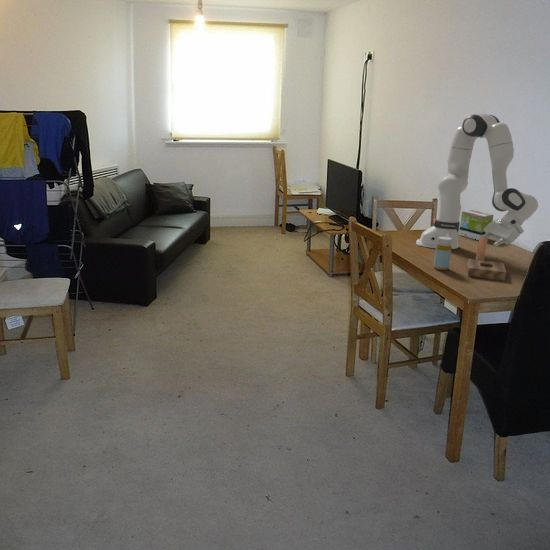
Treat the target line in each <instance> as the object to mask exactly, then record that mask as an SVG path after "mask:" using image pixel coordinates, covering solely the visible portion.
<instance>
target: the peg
mask: <svg viewBox="0 0 550 550" xmlns="http://www.w3.org/2000/svg"><path fill="white" fill-rule="evenodd" d="M488 241H489V239H488V238H485V237H479V241H478V242H477V243H478V244H477V250H476V255H475V260H484V261H485V258H486V252H487V247H488V246H487V245H488Z"/></svg>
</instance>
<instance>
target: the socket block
mask: <svg viewBox="0 0 550 550" xmlns="http://www.w3.org/2000/svg"><path fill="white" fill-rule="evenodd" d="M466 273H467V274H468V276H467V277H470V276H474V277H473V278H478V277H481V278H480V279H486V278H490V279H489V280H494V279H499V280H498V281H502V280H505V281H506V276H507V270H506V267H505V263H504V262H502V261H491V260H485V259H484V260H476V258H475V259H474V258H468V259H467V263H466Z"/></svg>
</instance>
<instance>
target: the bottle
mask: <svg viewBox="0 0 550 550" xmlns="http://www.w3.org/2000/svg"><path fill="white" fill-rule="evenodd" d="M451 242H452V238H450V237H445V236H440V237H438V243H437V246H436V248H435V251H434V259H433V266H432V267H433V269H435V270H437V271H442V270H445V271H448V270H449V268H450V262H451V254H452V249H451Z"/></svg>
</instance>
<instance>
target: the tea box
mask: <svg viewBox="0 0 550 550" xmlns="http://www.w3.org/2000/svg"><path fill="white" fill-rule="evenodd" d="M492 221H494V214H490V213H487V212H482V211H478V210H473V209H470V210H465V211H464V210H462V211H461V215H460V221H459V222H460V226H459V231H458V236H462V237H465V238H468V239H472V240H475V239H476V241H478V240H479V237H484V236H485V233H486V232H485V231H484V228H485V227H486V226H487V225H488V224H489V223H491V222H492ZM489 238H491V236H490V237H488V240H489Z"/></svg>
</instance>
